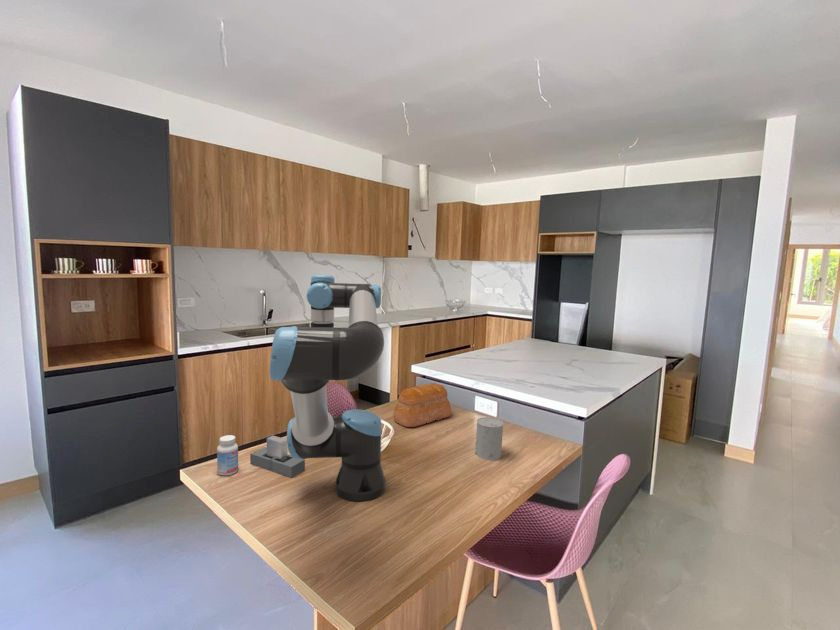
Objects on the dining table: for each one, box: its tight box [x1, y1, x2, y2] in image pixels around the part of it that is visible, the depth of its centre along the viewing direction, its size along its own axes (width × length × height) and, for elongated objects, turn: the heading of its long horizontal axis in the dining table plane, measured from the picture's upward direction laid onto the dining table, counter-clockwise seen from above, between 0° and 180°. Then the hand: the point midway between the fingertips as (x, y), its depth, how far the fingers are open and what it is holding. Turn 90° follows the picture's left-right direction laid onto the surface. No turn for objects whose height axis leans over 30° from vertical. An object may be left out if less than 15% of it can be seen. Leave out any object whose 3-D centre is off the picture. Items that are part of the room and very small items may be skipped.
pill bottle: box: [216, 434, 239, 476], centre depth 134 cm, size 6×6×11 cm
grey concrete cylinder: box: [474, 416, 504, 461], centre depth 154 cm, size 10×10×12 cm
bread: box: [393, 382, 452, 428], centre depth 187 cm, size 14×26×15 cm, turn 131°
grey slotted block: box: [249, 446, 306, 478], centre depth 139 cm, size 18×6×4 cm, turn 63°
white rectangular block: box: [266, 435, 289, 463], centre depth 139 cm, size 7×3×9 cm, turn 63°
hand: (321, 384), depth 142 cm, fingers open, 13 cm apart
